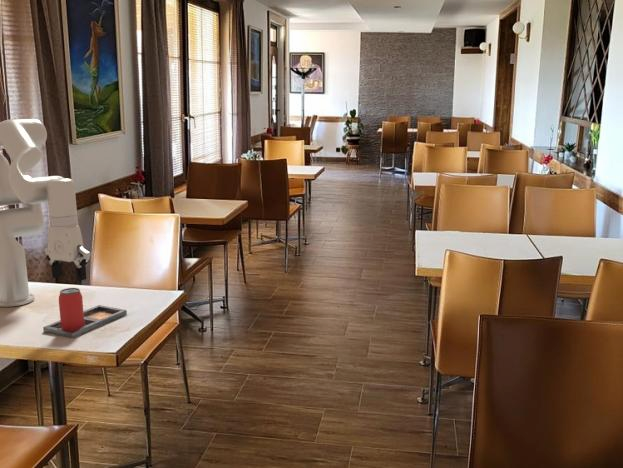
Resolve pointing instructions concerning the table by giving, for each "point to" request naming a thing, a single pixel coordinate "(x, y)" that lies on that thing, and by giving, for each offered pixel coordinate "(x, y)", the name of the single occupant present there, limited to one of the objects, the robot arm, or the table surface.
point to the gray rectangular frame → (88, 321)
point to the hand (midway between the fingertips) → (69, 278)
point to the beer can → (71, 309)
